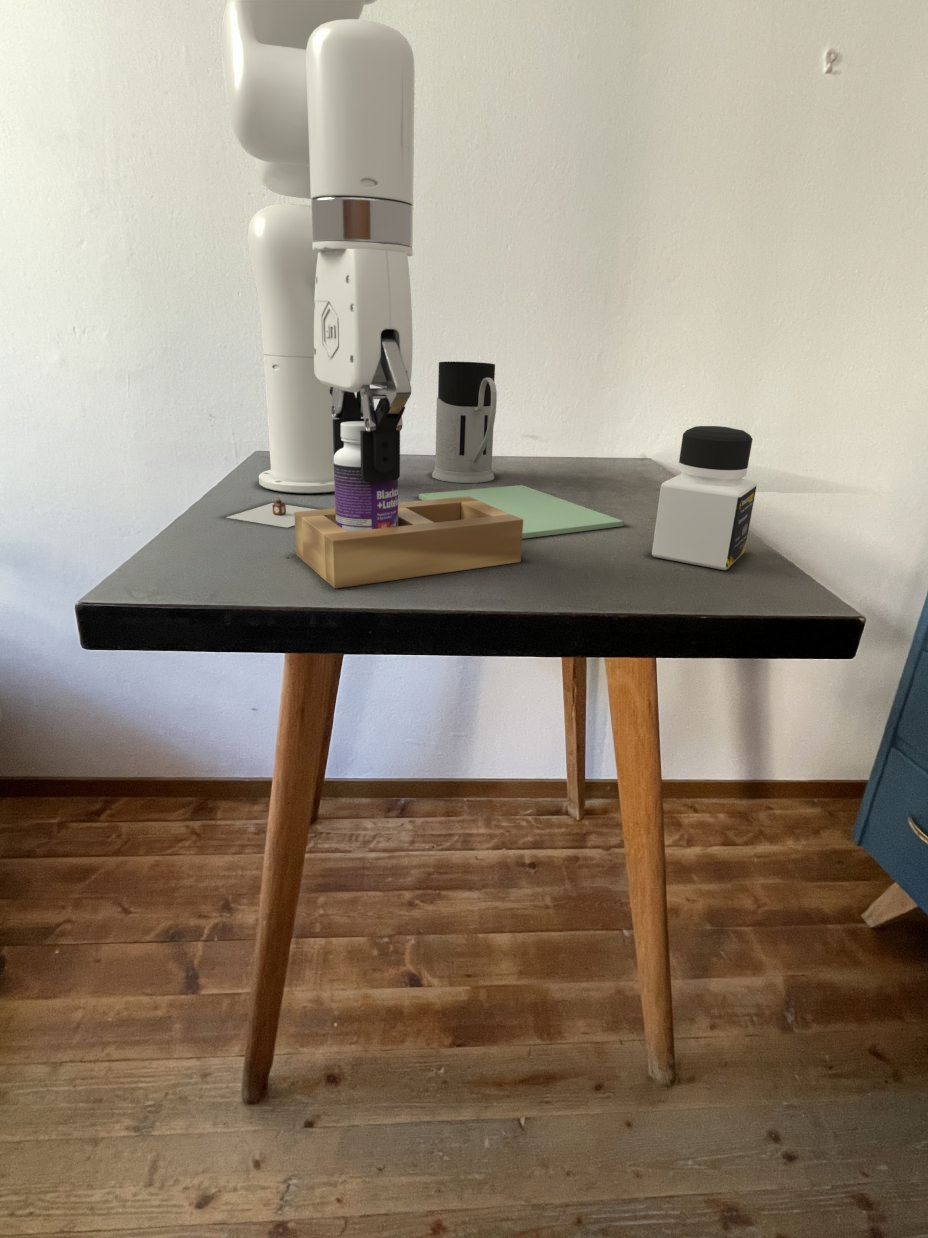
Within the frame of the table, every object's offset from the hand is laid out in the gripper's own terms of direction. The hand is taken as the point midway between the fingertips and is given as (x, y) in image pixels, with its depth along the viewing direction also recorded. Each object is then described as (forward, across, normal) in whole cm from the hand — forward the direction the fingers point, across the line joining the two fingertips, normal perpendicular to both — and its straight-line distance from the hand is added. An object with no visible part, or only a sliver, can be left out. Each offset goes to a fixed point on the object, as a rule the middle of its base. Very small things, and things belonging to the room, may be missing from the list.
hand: (365, 470), depth 62 cm
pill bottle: (+6, 0, 0) cm, 6 cm away
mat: (+8, -11, +23) cm, 27 cm away
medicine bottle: (+8, +11, +30) cm, 33 cm away
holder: (+8, +1, +4) cm, 9 cm away
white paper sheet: (+9, -19, -2) cm, 21 cm away
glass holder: (+9, -28, +27) cm, 40 cm away
